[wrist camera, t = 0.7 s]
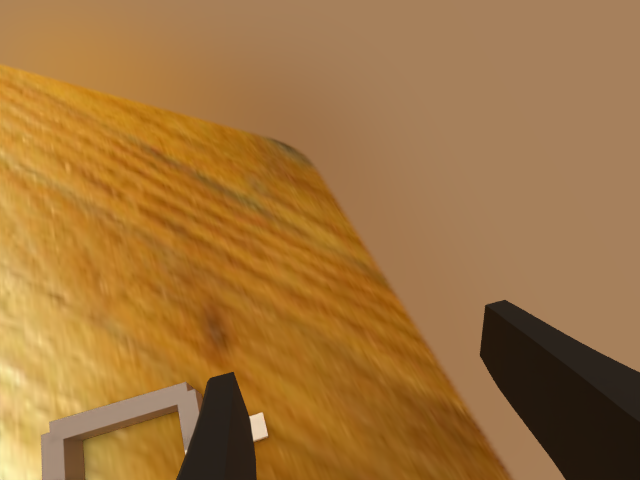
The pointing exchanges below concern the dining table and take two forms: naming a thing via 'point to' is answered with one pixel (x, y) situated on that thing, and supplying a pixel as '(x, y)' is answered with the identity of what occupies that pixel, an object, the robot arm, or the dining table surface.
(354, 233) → the dining table surface
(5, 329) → the dining table surface
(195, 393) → the beige piece
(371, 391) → the dining table surface
